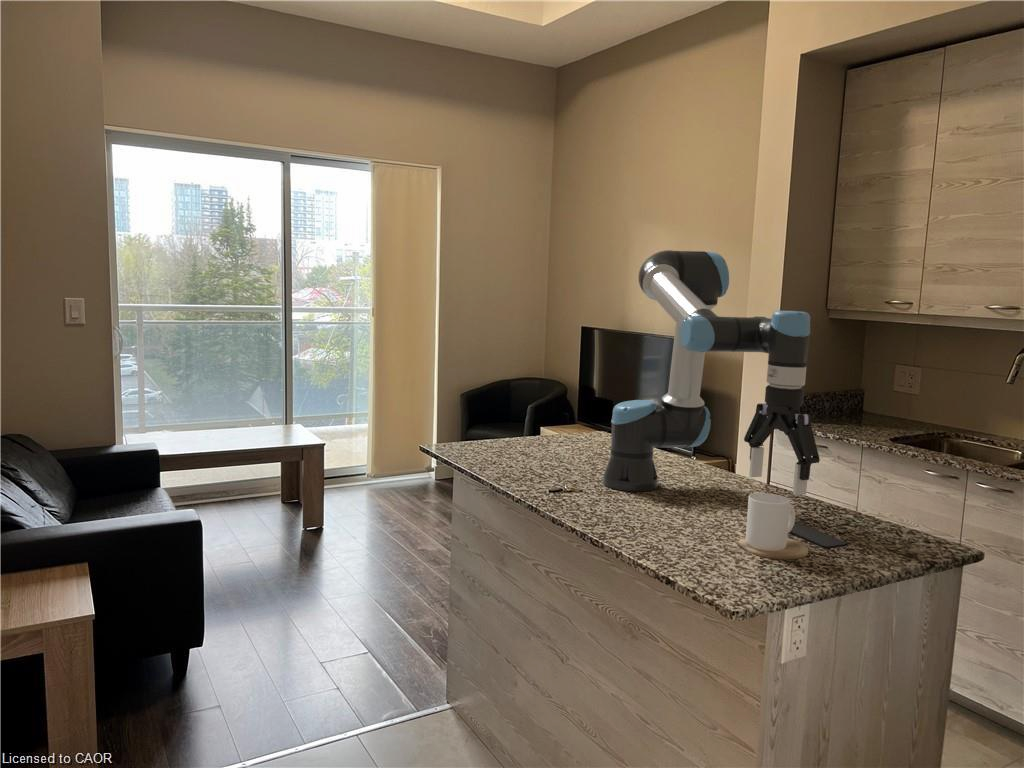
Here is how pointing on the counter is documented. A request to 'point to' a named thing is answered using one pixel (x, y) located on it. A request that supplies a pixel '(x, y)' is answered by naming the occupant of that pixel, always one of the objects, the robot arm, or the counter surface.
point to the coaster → (789, 553)
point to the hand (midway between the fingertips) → (776, 485)
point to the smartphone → (816, 536)
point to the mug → (769, 521)
